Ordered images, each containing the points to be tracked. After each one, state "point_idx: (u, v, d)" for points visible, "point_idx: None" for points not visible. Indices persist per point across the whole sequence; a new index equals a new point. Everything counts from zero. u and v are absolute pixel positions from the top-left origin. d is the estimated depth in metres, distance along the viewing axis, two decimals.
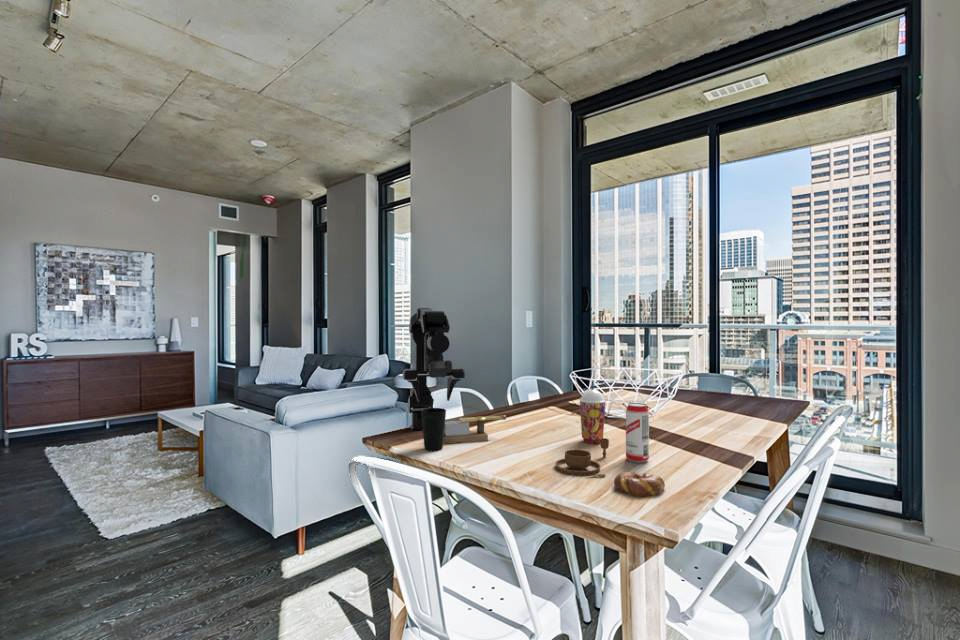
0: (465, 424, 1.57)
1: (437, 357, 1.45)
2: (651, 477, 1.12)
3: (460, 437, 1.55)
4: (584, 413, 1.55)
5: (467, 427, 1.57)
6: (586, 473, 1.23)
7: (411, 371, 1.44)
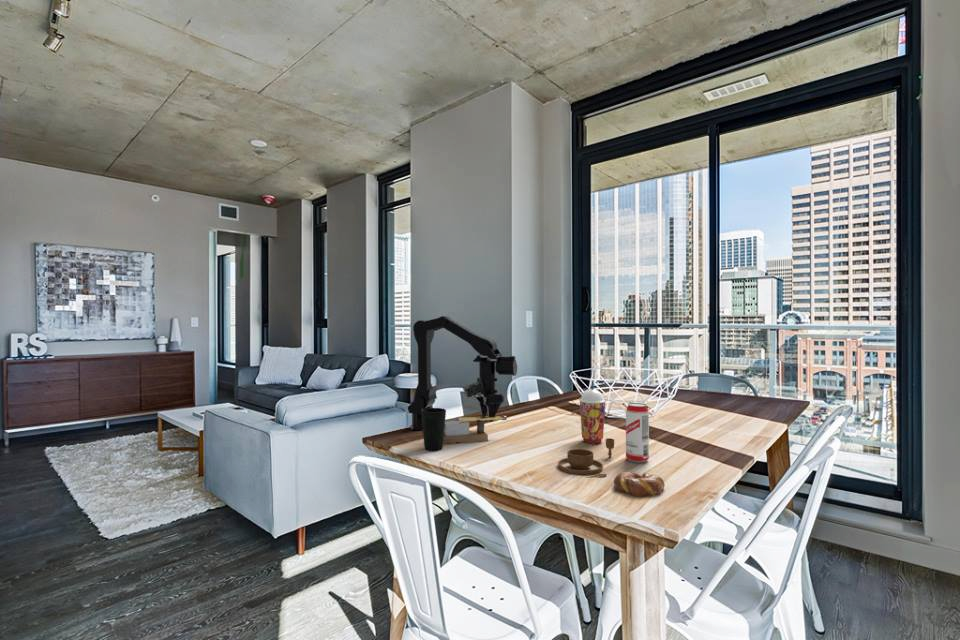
0: (465, 424, 1.57)
1: (480, 380, 1.66)
2: (651, 477, 1.12)
3: (460, 437, 1.55)
4: (584, 413, 1.55)
5: (467, 427, 1.57)
6: (587, 472, 1.23)
7: None
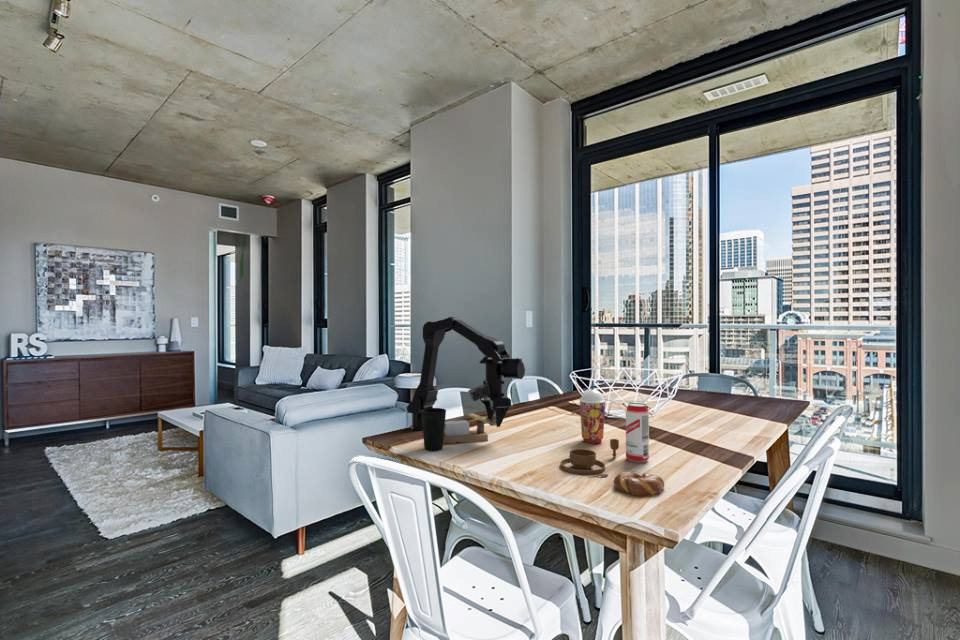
0: (465, 424, 1.57)
1: (486, 383, 1.58)
2: (651, 477, 1.12)
3: (460, 437, 1.55)
4: (584, 413, 1.55)
5: (467, 427, 1.57)
6: (588, 472, 1.23)
7: None
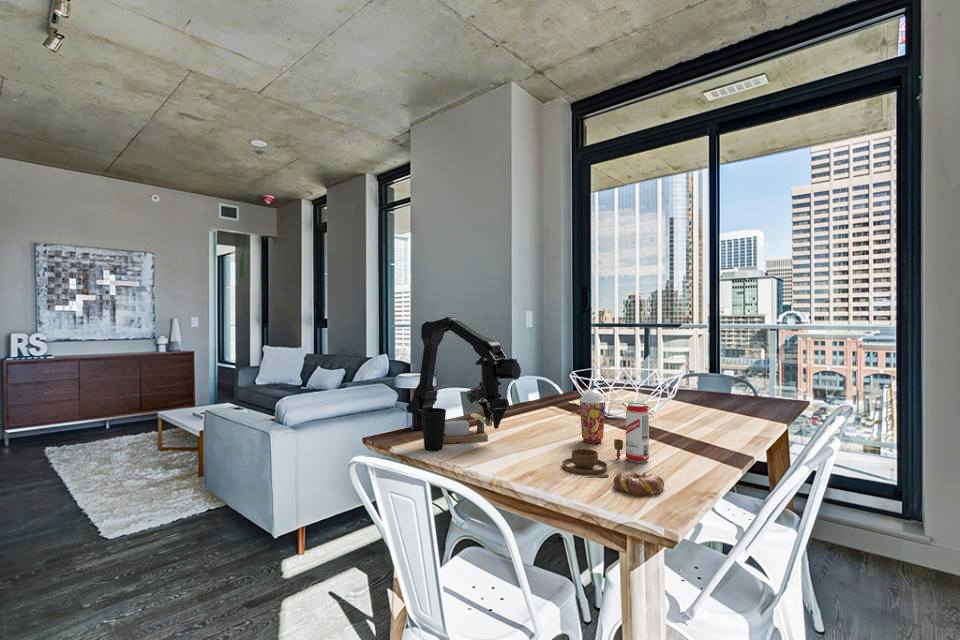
0: (465, 424, 1.57)
1: None
2: (651, 477, 1.12)
3: (460, 437, 1.55)
4: (584, 413, 1.55)
5: (467, 427, 1.57)
6: (589, 472, 1.23)
7: None
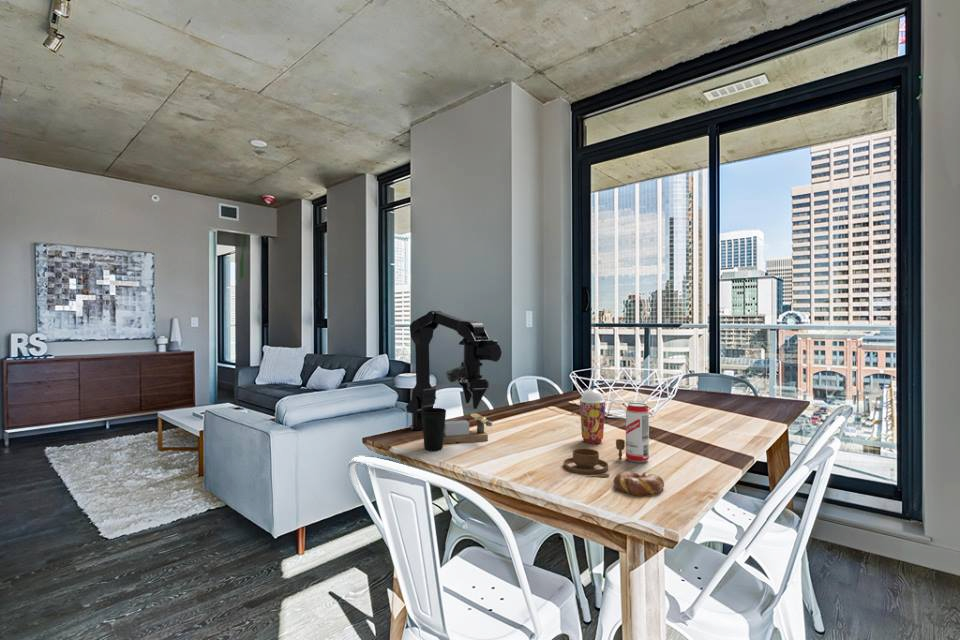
0: (465, 424, 1.57)
1: (464, 364, 1.57)
2: (651, 477, 1.12)
3: (460, 437, 1.55)
4: (584, 413, 1.55)
5: (467, 427, 1.57)
6: (590, 472, 1.24)
7: None
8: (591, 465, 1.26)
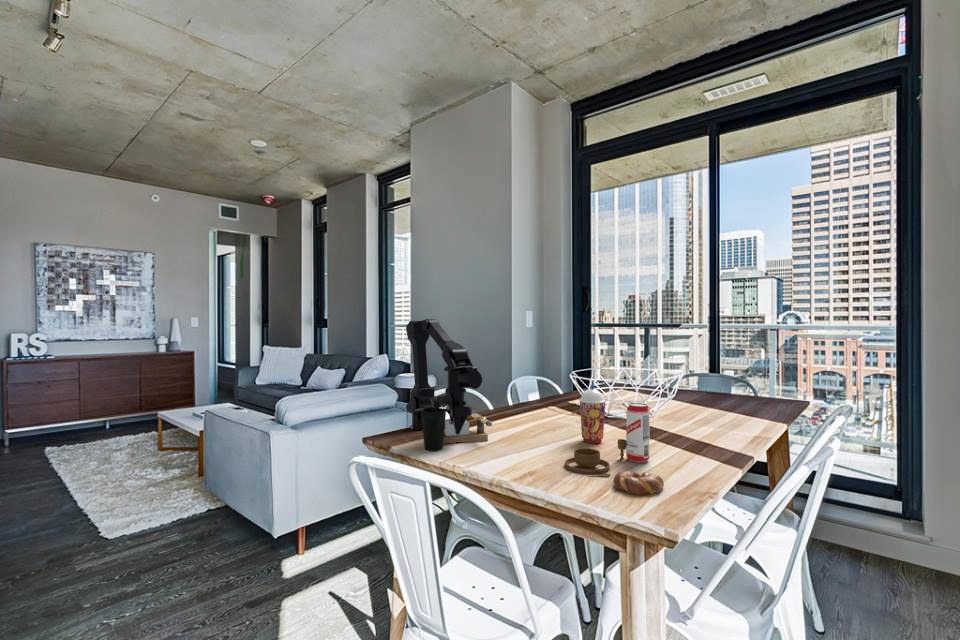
0: (465, 424, 1.57)
1: None
2: (650, 476, 1.12)
3: (460, 437, 1.55)
4: (584, 413, 1.55)
5: (467, 427, 1.57)
6: (591, 472, 1.24)
7: None
8: (592, 465, 1.27)
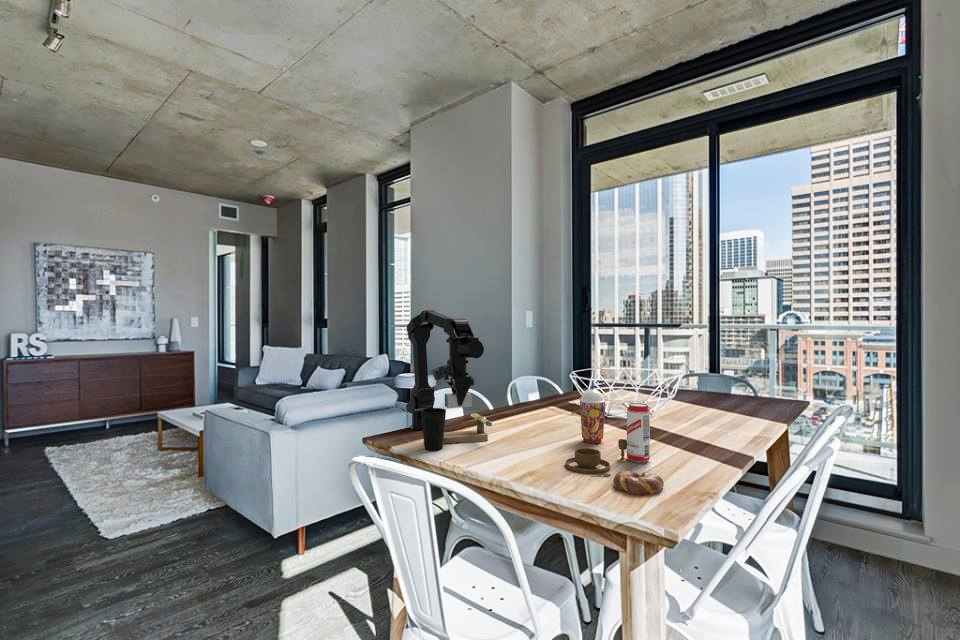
0: (467, 396, 1.54)
1: None
2: (650, 476, 1.12)
3: (460, 437, 1.55)
4: (584, 413, 1.55)
5: (469, 399, 1.55)
6: (591, 472, 1.24)
7: None
8: (593, 465, 1.27)
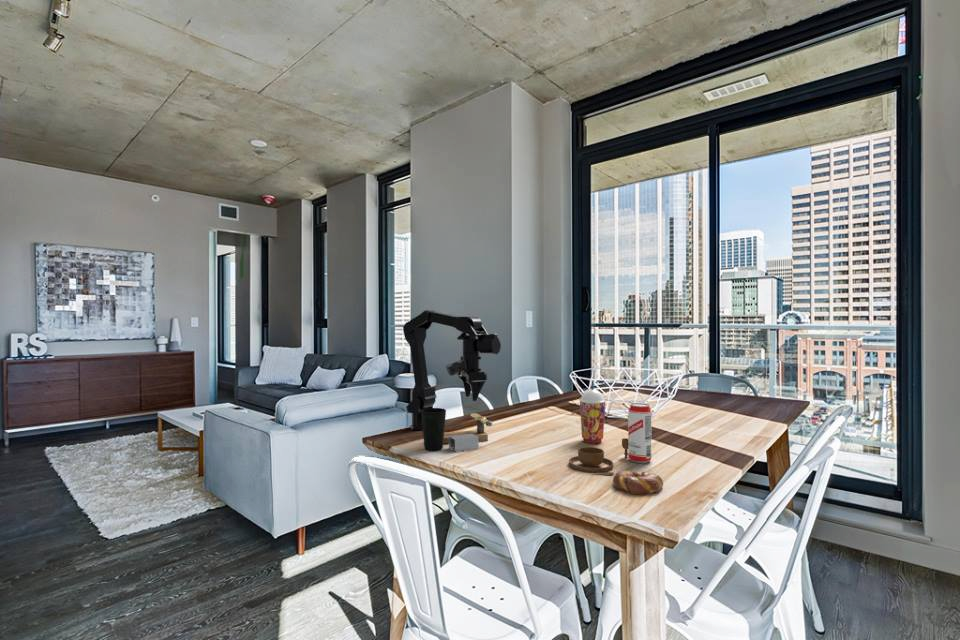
0: (474, 438, 1.47)
1: (463, 358, 1.62)
2: (650, 476, 1.13)
3: None
4: (584, 413, 1.55)
5: (476, 441, 1.48)
6: (595, 470, 1.25)
7: None
8: (596, 463, 1.28)
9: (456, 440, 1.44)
